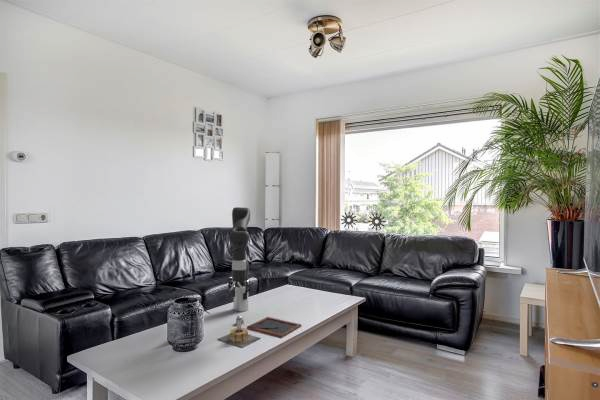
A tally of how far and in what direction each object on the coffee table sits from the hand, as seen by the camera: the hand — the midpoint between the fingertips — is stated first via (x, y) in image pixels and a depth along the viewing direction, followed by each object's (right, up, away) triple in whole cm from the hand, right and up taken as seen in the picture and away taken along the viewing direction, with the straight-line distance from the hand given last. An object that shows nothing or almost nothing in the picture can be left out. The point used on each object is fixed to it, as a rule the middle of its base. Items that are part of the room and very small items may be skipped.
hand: (239, 298), depth 186 cm
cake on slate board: (0, -22, 0) cm, 22 cm away
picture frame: (+18, -23, +17) cm, 34 cm away
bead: (-4, -22, +23) cm, 32 cm away
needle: (0, -22, 0) cm, 22 cm away
